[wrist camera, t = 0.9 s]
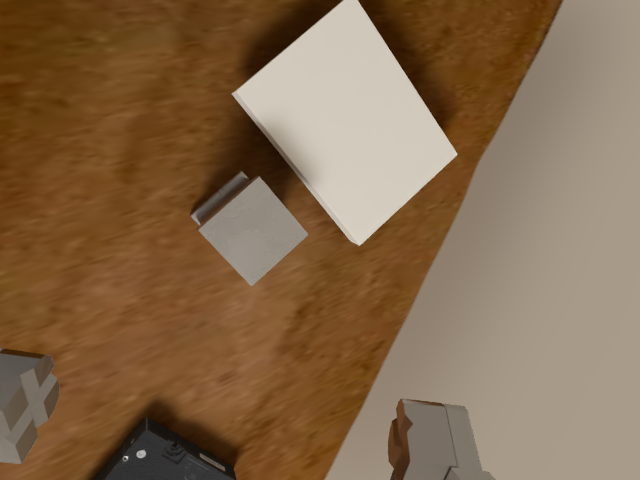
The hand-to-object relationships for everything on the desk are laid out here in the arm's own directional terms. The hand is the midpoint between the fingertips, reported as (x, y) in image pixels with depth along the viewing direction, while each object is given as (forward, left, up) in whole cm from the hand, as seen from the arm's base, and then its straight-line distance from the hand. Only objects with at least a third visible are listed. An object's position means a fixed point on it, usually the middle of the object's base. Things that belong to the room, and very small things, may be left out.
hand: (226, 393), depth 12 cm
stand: (+4, +16, -31) cm, 35 cm away
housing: (+4, +4, -31) cm, 32 cm away
